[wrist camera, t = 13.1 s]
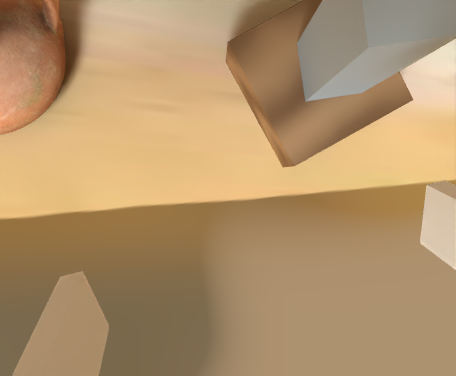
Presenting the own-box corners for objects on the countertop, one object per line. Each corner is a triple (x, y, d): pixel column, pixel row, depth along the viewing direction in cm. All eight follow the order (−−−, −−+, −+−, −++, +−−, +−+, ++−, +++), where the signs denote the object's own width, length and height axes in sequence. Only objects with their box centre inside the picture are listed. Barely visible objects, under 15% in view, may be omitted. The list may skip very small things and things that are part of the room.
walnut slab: (225, 63, 31) (227, 42, 26) (328, 6, 31) (350, -26, 26) (281, 167, 32) (294, 166, 27) (382, 111, 32) (413, 99, 27)
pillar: (305, 101, 26) (368, 47, 15) (296, 43, 26) (354, -54, 15) (361, 92, 27) (464, 33, 16) (353, 34, 26) (451, -67, 15)
